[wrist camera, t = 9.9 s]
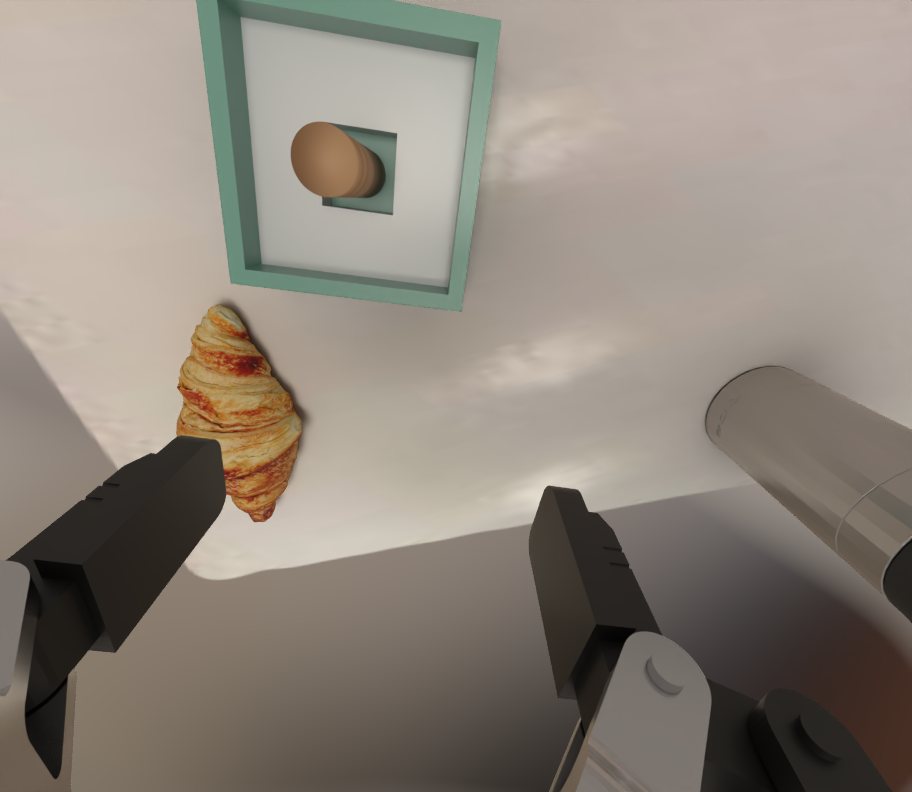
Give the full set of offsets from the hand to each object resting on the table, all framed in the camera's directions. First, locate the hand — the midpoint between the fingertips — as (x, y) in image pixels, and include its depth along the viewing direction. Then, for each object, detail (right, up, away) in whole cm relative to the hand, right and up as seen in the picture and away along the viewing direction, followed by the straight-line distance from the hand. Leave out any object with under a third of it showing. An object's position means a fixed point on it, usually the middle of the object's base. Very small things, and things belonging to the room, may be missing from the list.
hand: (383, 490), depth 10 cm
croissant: (-17, +1, +27) cm, 32 cm away
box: (-4, +18, +18) cm, 26 cm away
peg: (-5, +18, +17) cm, 25 cm away
